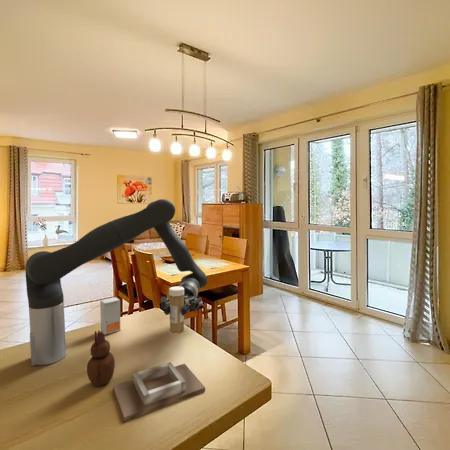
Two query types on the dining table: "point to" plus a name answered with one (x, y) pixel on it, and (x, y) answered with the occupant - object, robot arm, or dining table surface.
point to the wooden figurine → (100, 361)
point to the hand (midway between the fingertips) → (174, 311)
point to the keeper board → (156, 389)
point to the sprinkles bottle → (176, 309)
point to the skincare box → (110, 315)
